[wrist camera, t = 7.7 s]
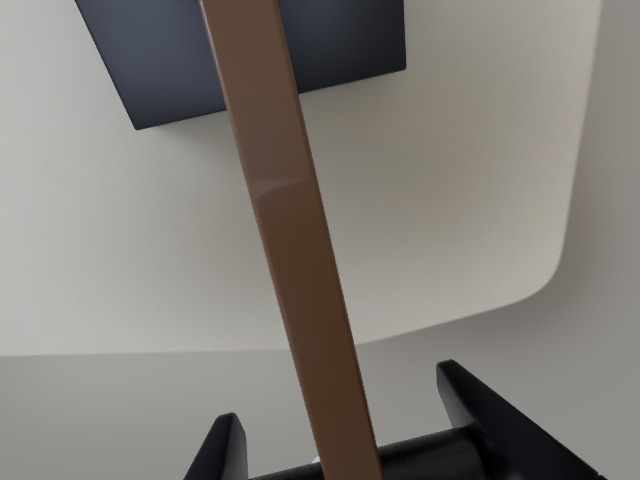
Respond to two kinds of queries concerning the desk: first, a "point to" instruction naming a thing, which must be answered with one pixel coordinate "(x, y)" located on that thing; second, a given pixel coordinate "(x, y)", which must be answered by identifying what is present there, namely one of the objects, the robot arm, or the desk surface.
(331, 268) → the lever
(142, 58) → the bracket
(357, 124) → the desk surface
